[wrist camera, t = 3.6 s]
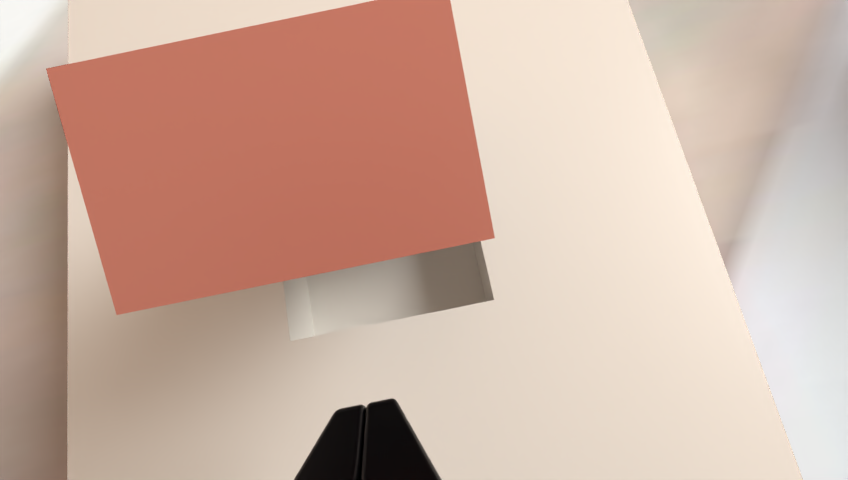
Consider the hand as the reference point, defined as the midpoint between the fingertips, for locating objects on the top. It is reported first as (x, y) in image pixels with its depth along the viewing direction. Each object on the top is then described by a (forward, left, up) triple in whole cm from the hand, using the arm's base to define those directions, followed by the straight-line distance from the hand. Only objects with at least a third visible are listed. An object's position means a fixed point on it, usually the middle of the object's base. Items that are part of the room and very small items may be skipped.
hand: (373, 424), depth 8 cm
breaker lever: (+6, +4, -7) cm, 10 cm away
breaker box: (+4, +3, -9) cm, 10 cm away
